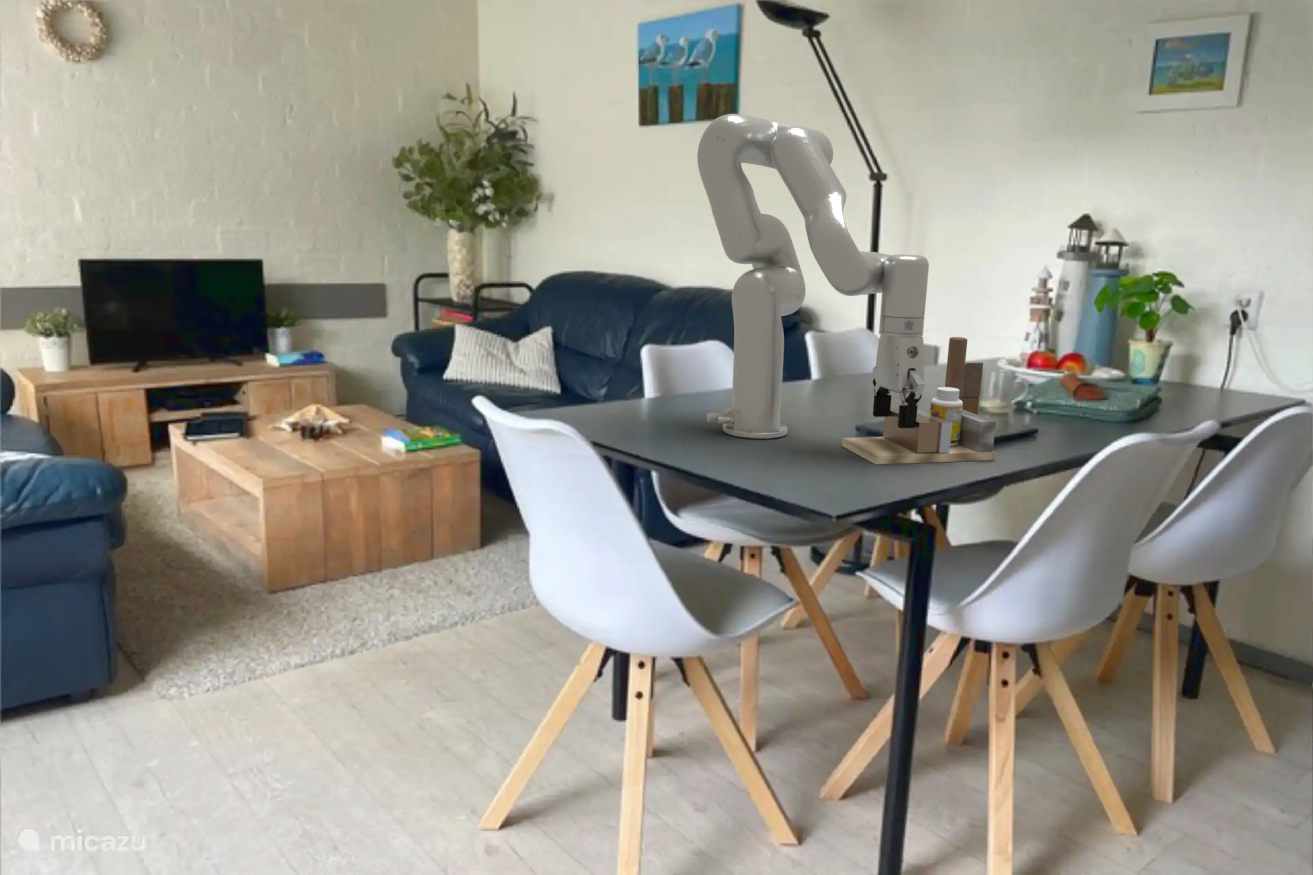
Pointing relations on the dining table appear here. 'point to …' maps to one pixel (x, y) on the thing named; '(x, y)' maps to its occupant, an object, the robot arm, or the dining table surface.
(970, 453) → the vise bed
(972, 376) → the wooden block
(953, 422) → the supplement bottle
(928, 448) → the block
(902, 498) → the dining table surface
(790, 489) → the dining table surface
